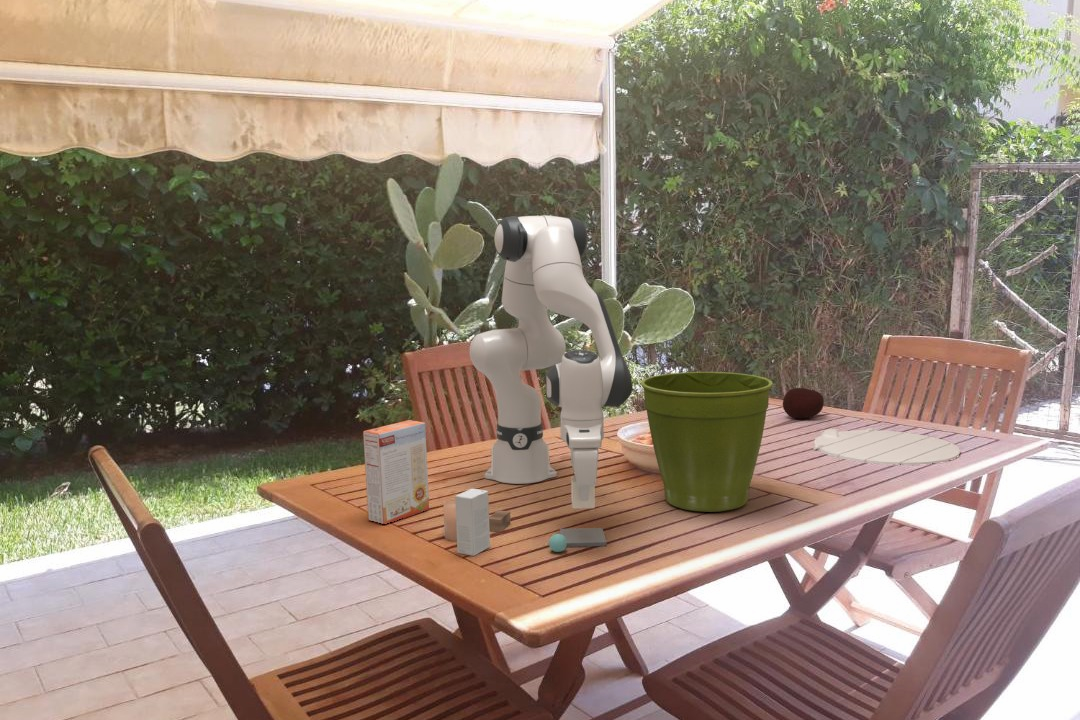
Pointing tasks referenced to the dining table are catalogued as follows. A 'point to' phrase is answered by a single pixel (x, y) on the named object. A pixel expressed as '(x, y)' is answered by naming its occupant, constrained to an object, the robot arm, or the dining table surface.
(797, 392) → the dark brown rounded lump
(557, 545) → the teal ball
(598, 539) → the slate coaster
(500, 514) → the walnut block
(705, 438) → the plant pot
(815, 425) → the dining table surface
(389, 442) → the cracker box
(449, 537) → the tan domed cylinder
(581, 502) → the cream block
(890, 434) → the lazy susan
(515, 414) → the robot arm
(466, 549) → the skincare box
